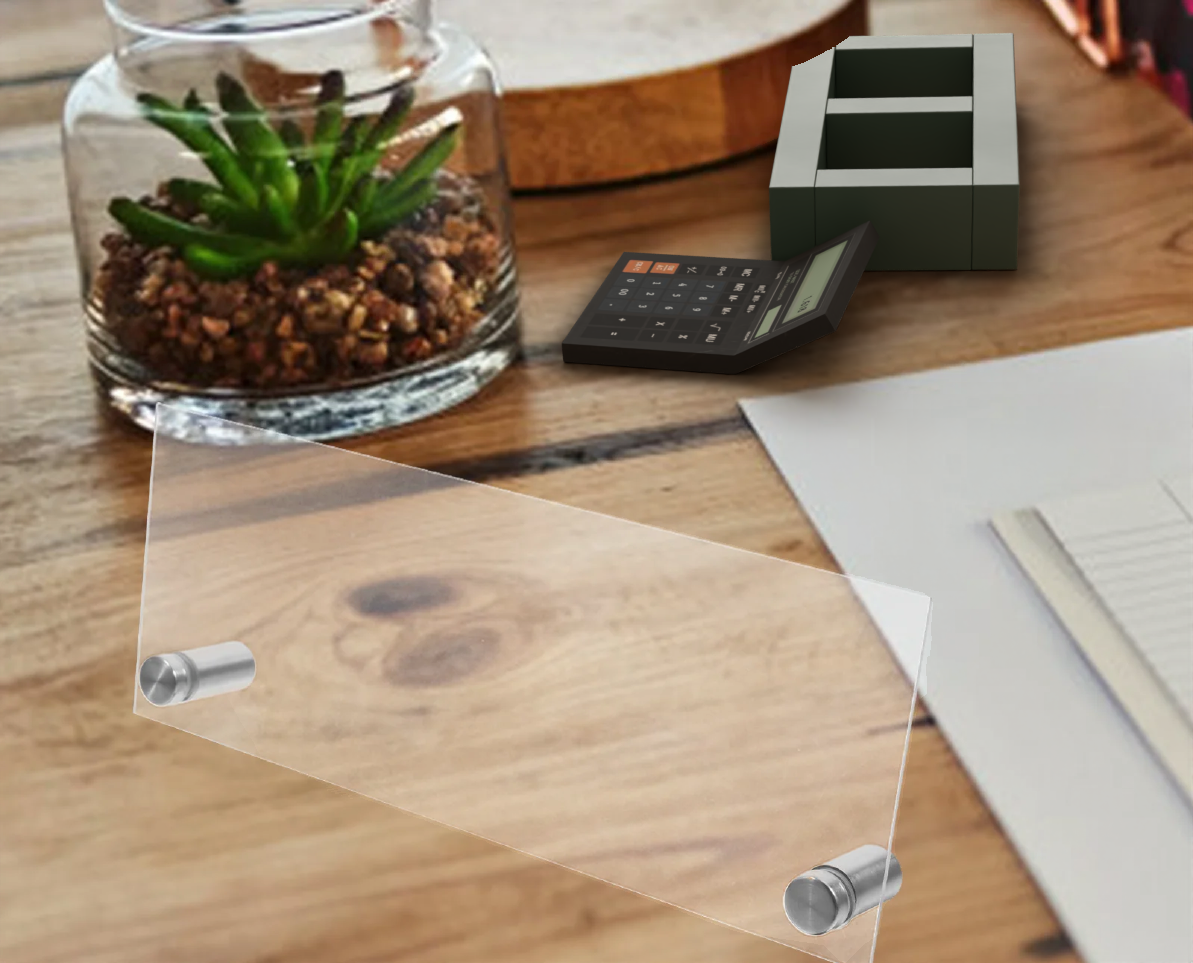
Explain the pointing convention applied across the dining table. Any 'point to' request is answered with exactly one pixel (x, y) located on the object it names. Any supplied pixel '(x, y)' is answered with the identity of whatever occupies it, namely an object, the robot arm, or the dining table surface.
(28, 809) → the dining table surface
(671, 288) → the calculator
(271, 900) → the dining table surface
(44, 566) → the dining table surface
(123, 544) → the dining table surface
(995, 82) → the rack
